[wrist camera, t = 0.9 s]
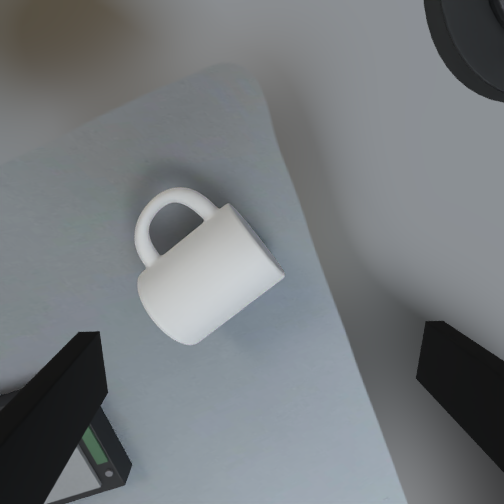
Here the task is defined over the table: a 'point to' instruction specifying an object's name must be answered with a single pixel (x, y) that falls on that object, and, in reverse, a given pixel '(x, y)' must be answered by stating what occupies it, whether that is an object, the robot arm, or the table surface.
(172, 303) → the mug
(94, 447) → the scale
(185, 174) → the table surface
